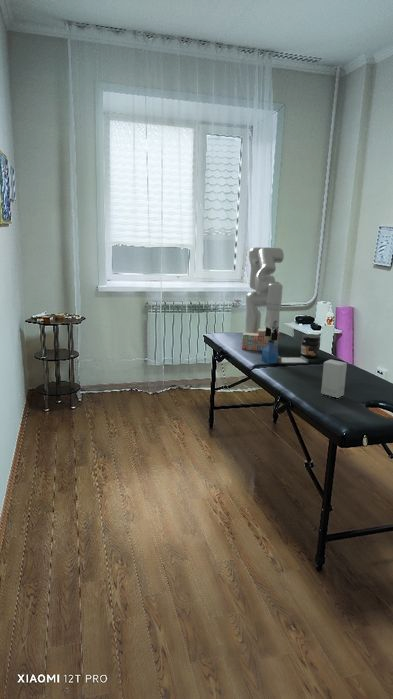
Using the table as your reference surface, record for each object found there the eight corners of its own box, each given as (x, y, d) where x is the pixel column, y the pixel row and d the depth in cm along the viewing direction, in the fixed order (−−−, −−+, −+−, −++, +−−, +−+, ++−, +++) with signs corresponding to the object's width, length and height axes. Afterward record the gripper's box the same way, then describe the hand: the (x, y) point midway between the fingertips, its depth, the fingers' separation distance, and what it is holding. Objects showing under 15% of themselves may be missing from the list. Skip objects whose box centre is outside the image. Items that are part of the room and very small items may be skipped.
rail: (272, 358, 258) (273, 353, 257) (274, 358, 258) (275, 353, 257) (279, 363, 248) (279, 358, 247) (281, 363, 248) (281, 358, 248)
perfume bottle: (261, 360, 252) (263, 339, 249) (270, 359, 255) (272, 338, 252) (268, 363, 247) (270, 342, 244) (277, 362, 250) (279, 341, 247)
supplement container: (299, 357, 262) (301, 337, 259) (300, 352, 272) (302, 333, 269) (318, 359, 260) (320, 339, 256) (319, 355, 269) (321, 335, 266)
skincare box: (343, 396, 203) (348, 362, 199) (337, 400, 198) (341, 365, 194) (326, 391, 208) (330, 358, 204) (319, 394, 203) (323, 361, 199)
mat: (275, 358, 258) (276, 355, 257) (301, 358, 260) (302, 355, 260) (281, 363, 249) (281, 360, 249) (308, 363, 252) (308, 360, 251)
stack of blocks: (241, 349, 273) (243, 329, 270) (241, 347, 279) (243, 327, 276) (277, 352, 272) (279, 332, 268) (277, 349, 278) (279, 329, 274)
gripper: (261, 304, 251) (259, 334, 255) (272, 309, 234) (269, 341, 238) (274, 304, 252) (272, 334, 256) (286, 309, 235) (283, 341, 240)
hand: (271, 338), depth 247 cm, fingers open, 9 cm apart
